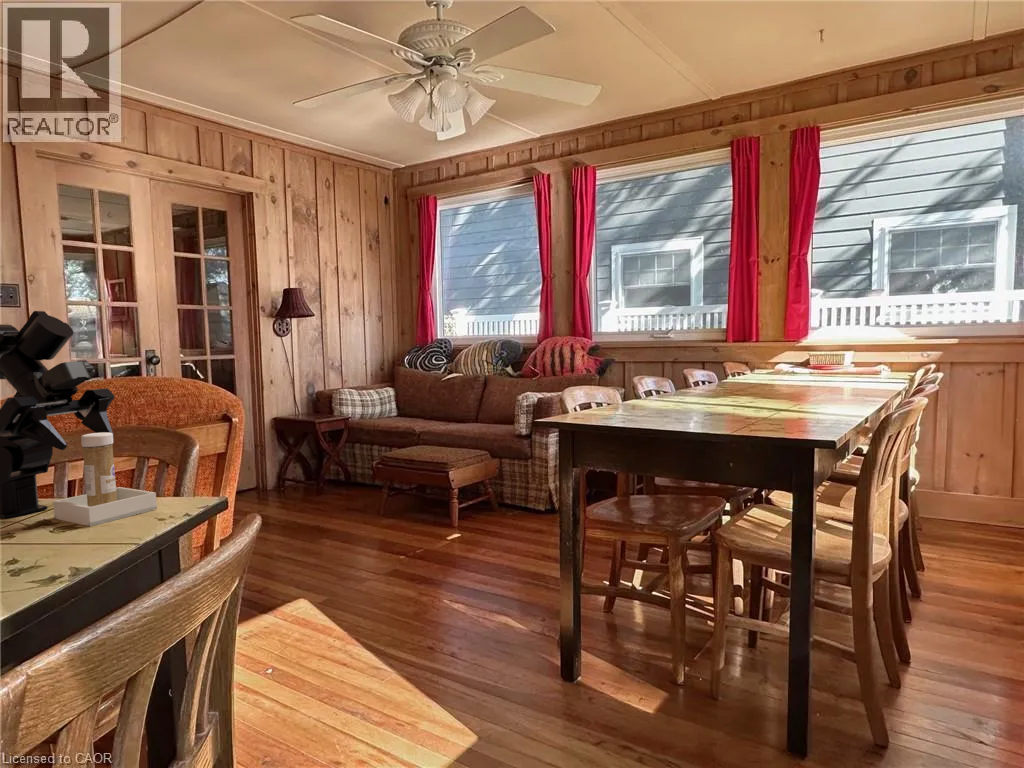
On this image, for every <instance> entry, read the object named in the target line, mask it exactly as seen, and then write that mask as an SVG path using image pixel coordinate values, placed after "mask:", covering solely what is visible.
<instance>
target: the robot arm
mask: <svg viewBox="0 0 1024 768" xmlns="http://www.w3.org/2000/svg"><path fill="white" fill-rule="evenodd" d="M73 335H74V330H73V328H72V327H71V325H69V324H68V322H64V321H62V320H61V319H59V318H57V317H55V316H52V315H49V314H48V313H47V312H46V311H43V310H34V311H33V312H32V313H31V314H30V315H29V317H28V319H27V321H26V322H25V323H24V324H23V326H22V327H21V328H20V330H18V329H17V328H16V327H15V326H13V325H12V324H0V380H6V381H7V382H8V384H9V385H11V387H12V388H13V389H14V390H15V391H16V392H15V394H14V395H13V397H7V398H6V400H4V402H3V404H2V405H1V407H0V517H1V518H3V519H4V518H5V519H7V518H12V517H17V516H21V515H26V514H30V513H34V512H39V511H44V510H47V509H48V505H43V504H40V503H39V498H38V497H39V496H38V495H39V494H38V485H37V483H38V482H37V475H40V474H45V473H48V470H49V467H50V463H51V460H52V457H53V449H57V450H60V451H64V450H66V449H67V447H68V444H67V442H66V441H65V440H64V438H63V437H62V436H61V434H60V433H59V432H58V431H57V430H56V428H55V427H54V426H53V425H52V423H51V422H50V420H49V419H48V417H53V416H58V415H59V416H60V415H65V414H73V415H74V416H75V417H76V418H77V419H79V420H81V422H80V424H81V425H84V426H85V427H86V428H88V429H90V430H91V431H93V433H101V432H109V433H112V434H113V439H114V438H115V435H114V433H113V429H112V426H111V423H110V420H109V417H108V408H109V406H110V405H111V403H112V402H113V400H114V399H115V398H116V396H115V394H113V392H112V391H111V390H110V389H109V388H97V389H96V388H95V389H86V390H85V392H84V393H83V394H82V396H81V397H80V398H79V399H73V397H72V396H74V395H76V394H77V393H78V391H79V388H78V386H80V385H81V384H83V383H85V382H87V381H90V380H91V379H92V378H93V377H94V376H95V375H96V370H95V368H94V366H93V365H92V364H91V363H90V362H89V361H88V360H86V359H83V360H77V361H65V362H61V363H58V364H56V365H55V366H53V367H51V368H50V369H48V368H47V367H46V365H44V363H43V362H42V361H44V360H46V361H49V360H53V359H55V357H56V356H57V355H58V354H59V352H61V350H62V349H63V348H64V346H66V344H67V343H68V342H69V340H70V339H71V338H72V336H73Z"/></svg>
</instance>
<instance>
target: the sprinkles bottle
mask: <svg viewBox="0 0 1024 768" xmlns="http://www.w3.org/2000/svg"><path fill="white" fill-rule="evenodd" d="M113 435H114V433H113V434H112V433H109V432H101V433H95V432H93V433H92V432H91V433H86V434H82V435H81V437H80V438H81V439H80V440H81V441H80V443H81V447H82V450H83V452H82V454H83V472H84V485H85V494H86V495H87V505H88V506H89V507H92V506H96V505H101V504H105V503H109V502H114V501H117V500H116V488H117V482H116V472H115V469H116V468H115V464H114V463H115V462H114V450H113V449H114V448H113V444H114V438H113Z"/></svg>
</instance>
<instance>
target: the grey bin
mask: <svg viewBox="0 0 1024 768" xmlns="http://www.w3.org/2000/svg"><path fill="white" fill-rule="evenodd" d="M116 500H117V501H114V502H109V503H105V504H101V505H96V506H92V507H89V506H88V505H87V495H86V493H85V494H81V495H76V496H71V497H67V498H62V499H57V500H53V501H52V503H53V515H54V517H53V518H54V520H59V521H63V522H67V523H68V522H69V523H73V524H77V525H82V526H86V527H93V526H97V525H101V524H105V523H110V522H113V521H117V520H121V519H126V518H128V517H129V518H130V517H132V515H133V516H137V515H140V513H141V514H144V512H145V513H148V512H147V511H149V512H151V510H153V511H155V510H154V509H157V510H158V506H157V505H158V504H157V492H153V491H148V490H141V489H134V488H131V487H130V488H129V487H122V486H118V487H117V486H116ZM136 514H137V515H136Z"/></svg>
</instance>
